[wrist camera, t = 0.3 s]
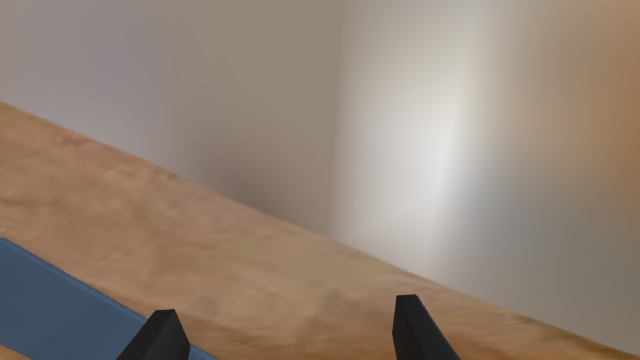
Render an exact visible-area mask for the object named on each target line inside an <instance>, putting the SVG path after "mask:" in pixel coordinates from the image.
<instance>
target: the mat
mask: <svg viewBox="0 0 640 360" xmlns="http://www.w3.org/2000/svg"><path fill="white" fill-rule="evenodd" d="M146 321H147V319H146V318H144V317H142V316H140V315H138V314H137V313H135V312H133V311H131V310H130V309H128V308H126V307H124V306H123V305H121V304H119V303H117V302H116V301H114V300H112V299H110V298H109V297H107V296H105V295H103V294H102V293H100V292H98V291H96V290H94V289H93V288H91V287H89V286H87V285H86V284H84V283H82V282H80V281H79V280H77V279H75V278H73V277H72V276H70V275H68V274H66V273H65V272H63V271H61V270H59V269H57V268H56V267H54V266H52V265H50V264H49V263H47V262H45V261H43V260H42V259H40V258H38V257H36V256H35V255H33V254H31V253H29V252H28V251H26V250H24V249H22V248H21V247H19V246H17V245H15V244H13V243H12V242H10V241H8V240H6V239H5V238H2V239H0V344H2V345H4V346H6V347H8V348H10V349H12V350H14V351H16V352H19V353H21V354H23V355H25V356H27V357H29V358H31V359H33V360H116V359H117V357H118V356H119V355H120V354H121V353H122V351H123V350H124V349H125V348H126V346H127V345H128V344H129V343H130V341H131V340H132V339H133V338H134V336H135V335H136V334H137V333H138V331H139V330H140V329H141V328H142V326H143V325H144V324H145V323H146ZM190 346H191V348H190V353H189V358H188V360H218V359H216V358H214V357H212V356H211V355H209V354H207V353H205V352H204V351H202V350H200V349H198V348H197V347H195V346H193V345H191V344H190Z"/></svg>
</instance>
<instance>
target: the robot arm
mask: <svg viewBox="0 0 640 360" xmlns="http://www.w3.org/2000/svg"><path fill="white" fill-rule="evenodd" d="M392 335H393V341H394V346H395V352H396V357H397V360H461V359H460V358H459V356H458V355H457V354H456V352H455V351H454V349H453V348H452V347H451V345H450V344H449V343H448V341H447V340H446V338H445V337H444V336H443V334H442V333H441V331H440V330H439V328H438V327H437V325H436V324H435V322H434V321H433V319H432V318H431V316H430V315H429V313H428V312H427V310H426V308H425V307H424V305H423V304H422V302H421V300H420V299H419V297H418V296H417V295H416V294H414V295H398V296H397V297H396V305H395V314H394V322H393V331H392ZM190 348H191V346H190V343H189V341H188V339H187V337H186V334H185V332H184V330H183V327H182V325H181V323H180V321H179V318H178V316H177V314H176V311H175V309H171V310H156V311H155V312H154V313H153V314H152V315H151V316H150V318H149V319H148V320H147V321H146V323H145V324H144V325H143V326H142V328H141V329H140V330H139V331H138V333H137V334H136V335H135V336H134V338H133V339H132V340H131V341H130V343H129V344H128V345H127V346H126V348H125V349H124V350H123V351H122V353H121V354H120V355H119V356H118V357H117V359H116V360H188V358H189V353H190Z"/></svg>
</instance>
